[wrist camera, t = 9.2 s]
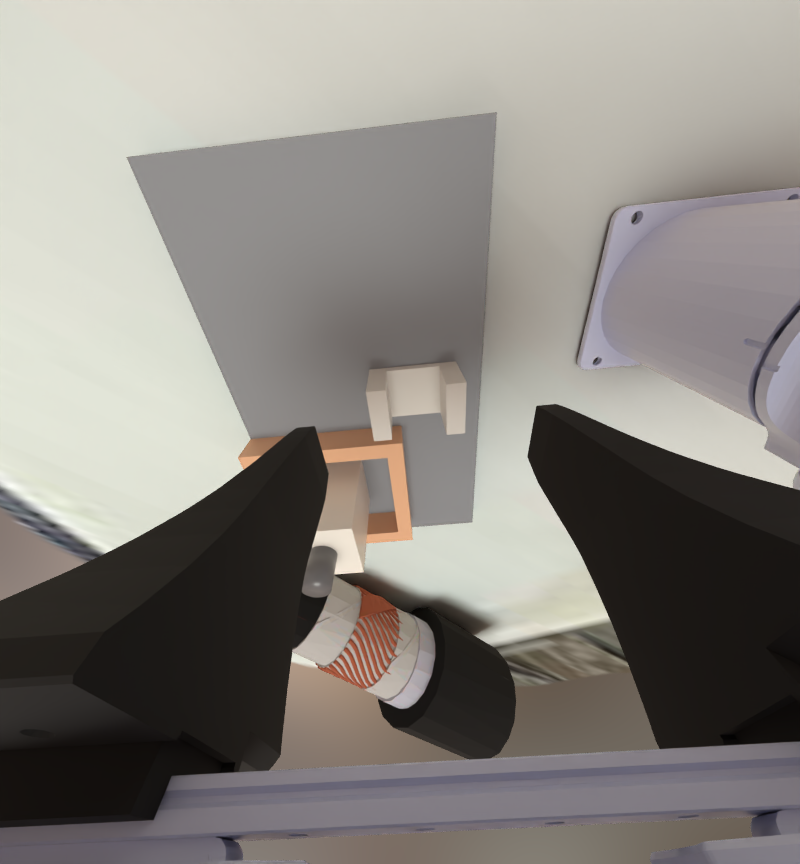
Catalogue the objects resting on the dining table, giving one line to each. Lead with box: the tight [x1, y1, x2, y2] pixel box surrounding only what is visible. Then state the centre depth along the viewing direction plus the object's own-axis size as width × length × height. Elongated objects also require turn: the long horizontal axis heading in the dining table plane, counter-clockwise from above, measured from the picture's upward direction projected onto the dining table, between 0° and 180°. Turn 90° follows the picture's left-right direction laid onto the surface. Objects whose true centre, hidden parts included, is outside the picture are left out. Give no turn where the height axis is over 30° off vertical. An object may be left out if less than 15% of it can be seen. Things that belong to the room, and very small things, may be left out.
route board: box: [127, 112, 497, 527], centre depth 19 cm, size 15×24×1 cm, turn 5°
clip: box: [366, 361, 467, 441], centre depth 17 cm, size 5×3×3 cm, turn 95°
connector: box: [302, 460, 370, 598], centre depth 19 cm, size 4×4×8 cm
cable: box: [292, 575, 516, 760], centre depth 28 cm, size 10×34×10 cm, turn 46°
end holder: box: [238, 426, 413, 543], centre depth 21 cm, size 10×9×2 cm
